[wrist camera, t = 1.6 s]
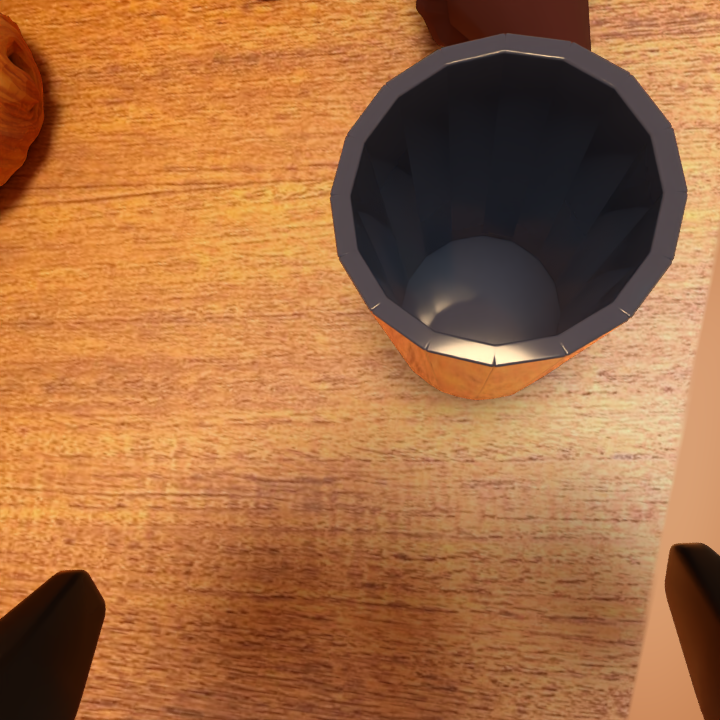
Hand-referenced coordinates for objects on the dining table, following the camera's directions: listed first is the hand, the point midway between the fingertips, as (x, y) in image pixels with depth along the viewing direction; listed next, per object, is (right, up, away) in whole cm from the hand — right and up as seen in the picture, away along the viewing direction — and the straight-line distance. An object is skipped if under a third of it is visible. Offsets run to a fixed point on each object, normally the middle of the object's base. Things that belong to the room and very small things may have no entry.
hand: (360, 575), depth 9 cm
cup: (+5, +5, +14) cm, 16 cm away
